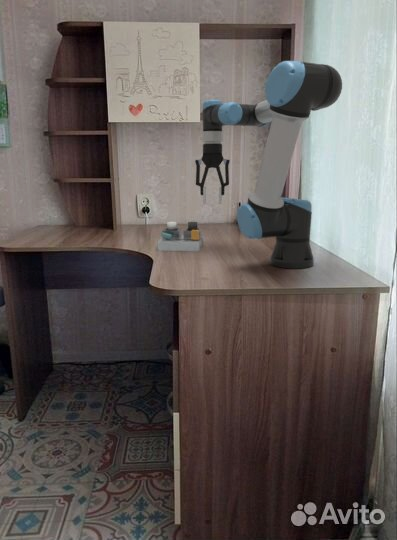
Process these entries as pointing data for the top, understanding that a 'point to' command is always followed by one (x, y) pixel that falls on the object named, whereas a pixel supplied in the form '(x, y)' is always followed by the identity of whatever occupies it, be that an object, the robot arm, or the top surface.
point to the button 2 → (192, 225)
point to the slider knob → (195, 234)
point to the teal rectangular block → (166, 235)
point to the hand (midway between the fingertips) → (212, 203)
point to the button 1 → (172, 225)
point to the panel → (180, 241)
